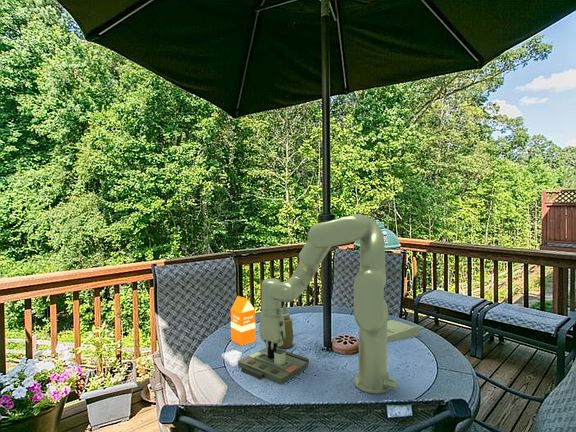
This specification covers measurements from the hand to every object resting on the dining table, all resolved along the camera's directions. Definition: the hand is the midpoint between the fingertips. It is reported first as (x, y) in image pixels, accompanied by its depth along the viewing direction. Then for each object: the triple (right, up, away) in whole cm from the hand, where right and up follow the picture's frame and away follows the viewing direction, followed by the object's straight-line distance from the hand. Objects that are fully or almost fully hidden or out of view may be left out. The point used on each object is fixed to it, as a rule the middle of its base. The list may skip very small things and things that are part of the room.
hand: (272, 357), depth 139 cm
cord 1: (-7, -4, -6) cm, 10 cm away
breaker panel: (0, -4, 0) cm, 4 cm away
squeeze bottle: (+5, -3, +20) cm, 20 cm away
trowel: (+54, -2, +30) cm, 61 cm away
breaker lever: (+3, -2, -2) cm, 4 cm away
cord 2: (+7, -3, +8) cm, 11 cm away
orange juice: (-14, -3, +26) cm, 30 cm away
